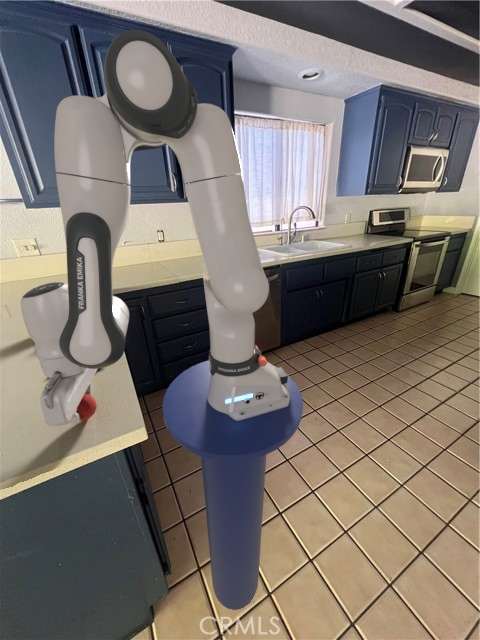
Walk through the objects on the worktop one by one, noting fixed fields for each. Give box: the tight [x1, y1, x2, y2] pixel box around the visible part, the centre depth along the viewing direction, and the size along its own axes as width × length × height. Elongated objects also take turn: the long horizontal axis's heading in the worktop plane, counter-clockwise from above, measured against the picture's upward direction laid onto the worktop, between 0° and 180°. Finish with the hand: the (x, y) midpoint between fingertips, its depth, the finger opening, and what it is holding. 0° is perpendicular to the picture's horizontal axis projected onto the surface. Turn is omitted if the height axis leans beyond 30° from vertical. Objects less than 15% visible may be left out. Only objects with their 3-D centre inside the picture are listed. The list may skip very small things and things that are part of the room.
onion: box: [76, 394, 98, 422], centre depth 61 cm, size 6×6×8 cm
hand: (82, 409), depth 62 cm, fingers closed on onion, 6 cm apart
